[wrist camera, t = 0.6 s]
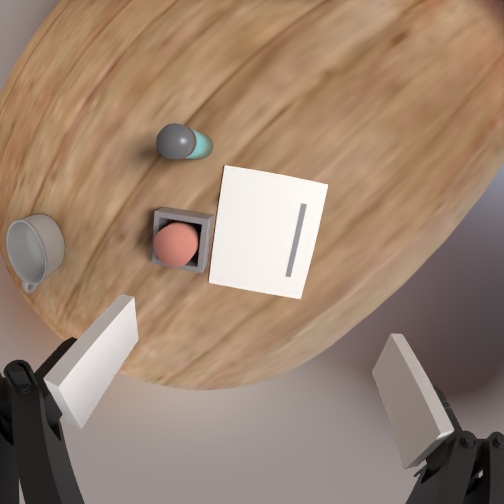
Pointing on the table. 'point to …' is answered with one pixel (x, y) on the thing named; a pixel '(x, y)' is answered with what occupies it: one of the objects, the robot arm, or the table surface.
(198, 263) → the button housing
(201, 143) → the marker
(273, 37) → the table surface
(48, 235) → the teacup
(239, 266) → the paper
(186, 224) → the button
